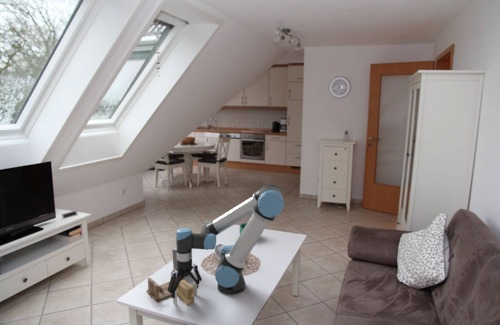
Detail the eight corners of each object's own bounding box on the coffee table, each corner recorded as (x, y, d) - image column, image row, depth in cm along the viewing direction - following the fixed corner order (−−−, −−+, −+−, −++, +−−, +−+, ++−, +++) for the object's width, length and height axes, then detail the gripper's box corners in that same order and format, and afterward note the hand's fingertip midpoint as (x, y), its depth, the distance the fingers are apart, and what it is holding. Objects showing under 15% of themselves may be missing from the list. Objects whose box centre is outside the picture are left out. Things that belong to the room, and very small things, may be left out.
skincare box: (183, 276, 195) (183, 250, 192) (172, 275, 196) (171, 249, 193) (189, 269, 203) (188, 244, 200) (178, 268, 204) (177, 243, 202)
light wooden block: (184, 293, 178) (183, 279, 176) (194, 302, 170) (193, 287, 169) (177, 296, 175) (176, 282, 174) (187, 305, 168) (186, 290, 166)
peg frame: (186, 290, 181) (185, 276, 179) (156, 302, 170) (156, 287, 168) (175, 281, 190) (174, 268, 188) (146, 291, 179) (145, 278, 177)
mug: (245, 233, 259) (245, 221, 258) (259, 236, 253) (259, 224, 252) (233, 240, 245) (233, 228, 244) (248, 244, 239) (248, 231, 237)
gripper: (200, 249, 179) (200, 287, 183) (159, 263, 164) (160, 304, 168) (208, 254, 173) (208, 293, 177) (166, 269, 158) (167, 311, 162)
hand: (185, 298), depth 173 cm, fingers open, 11 cm apart
